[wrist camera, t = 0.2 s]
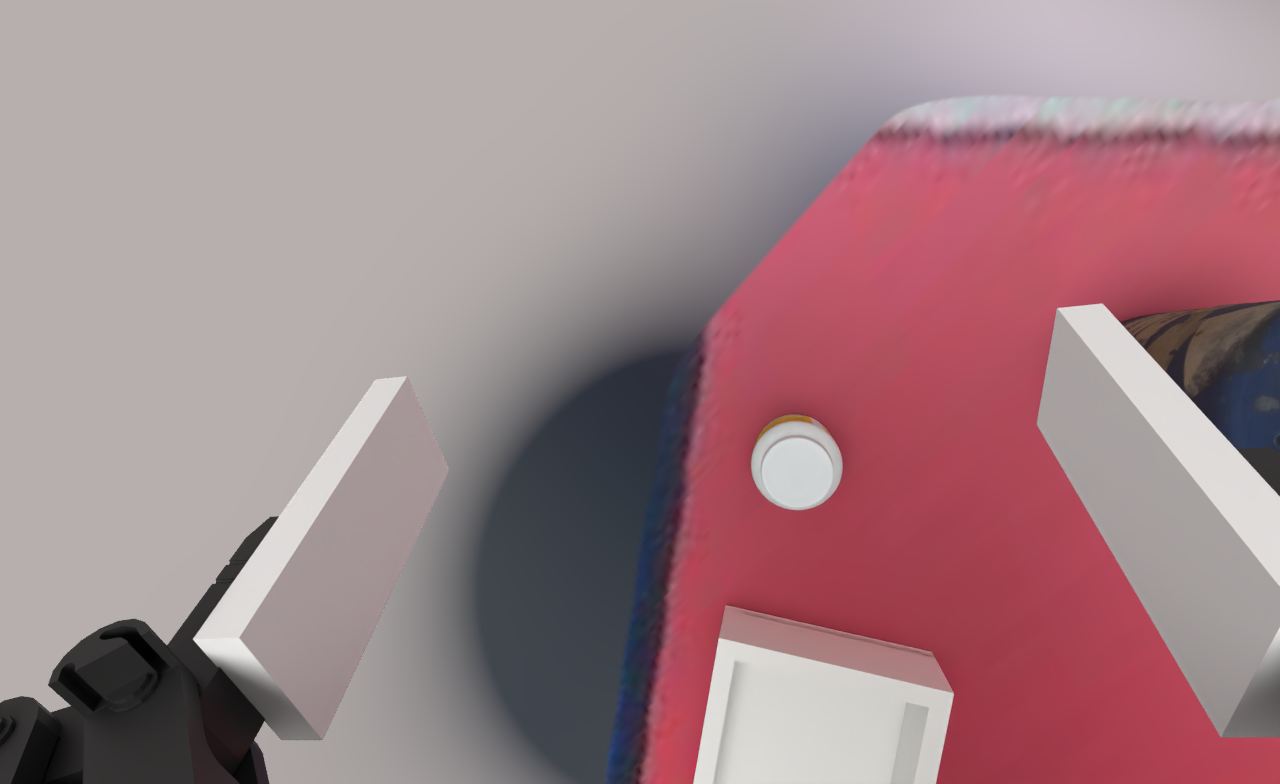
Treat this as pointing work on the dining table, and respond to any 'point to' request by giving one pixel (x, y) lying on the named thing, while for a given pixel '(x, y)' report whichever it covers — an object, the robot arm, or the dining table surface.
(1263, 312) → the canister
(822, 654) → the tote
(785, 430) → the supplement bottle
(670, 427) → the dining table surface
